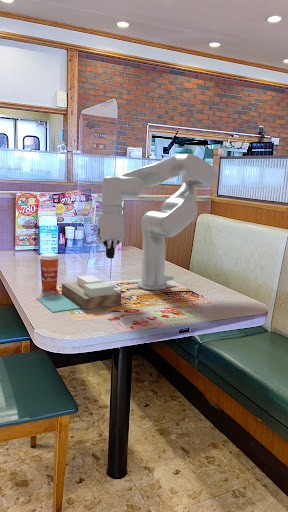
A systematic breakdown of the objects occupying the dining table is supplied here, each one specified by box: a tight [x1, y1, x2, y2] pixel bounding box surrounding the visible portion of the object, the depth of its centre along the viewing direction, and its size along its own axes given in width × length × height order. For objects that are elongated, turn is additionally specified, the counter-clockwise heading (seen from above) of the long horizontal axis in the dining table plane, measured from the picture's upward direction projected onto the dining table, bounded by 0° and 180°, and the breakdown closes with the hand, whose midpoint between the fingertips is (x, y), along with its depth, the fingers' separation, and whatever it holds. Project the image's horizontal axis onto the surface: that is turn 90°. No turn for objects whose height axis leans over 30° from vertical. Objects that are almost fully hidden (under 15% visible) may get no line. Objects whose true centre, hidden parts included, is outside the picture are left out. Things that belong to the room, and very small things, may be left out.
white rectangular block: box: [76, 274, 103, 288], centre depth 152 cm, size 6×9×3 cm, turn 32°
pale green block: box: [84, 281, 115, 297], centre depth 143 cm, size 6×9×3 cm, turn 122°
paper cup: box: [38, 252, 60, 292], centre depth 160 cm, size 8×8×14 cm
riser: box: [61, 281, 122, 311], centre depth 150 cm, size 14×22×4 cm, turn 32°
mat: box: [36, 294, 82, 313], centre depth 143 cm, size 10×17×1 cm, turn 32°
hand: (110, 257), depth 155 cm, fingers closed
